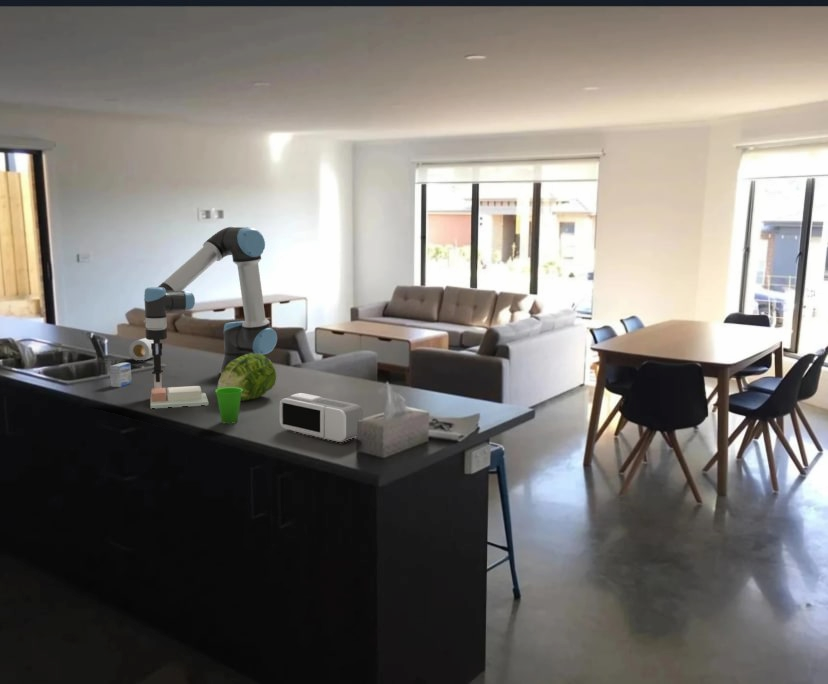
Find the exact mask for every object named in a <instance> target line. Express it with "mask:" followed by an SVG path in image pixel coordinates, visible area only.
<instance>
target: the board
mask: <svg viewBox="0 0 828 684" xmlns="http://www.w3.org/2000/svg"><path fill="white" fill-rule="evenodd" d="M149 400H150V409H152V408H155V409H168V407H172V408H183V407H182V406H188V407H201V405H205V406H209V399H208V397H207V393H206V392H202V399H192V400H175V401H168V398H167V394H166V401H157V402H152V395H150V396H149Z"/></svg>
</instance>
